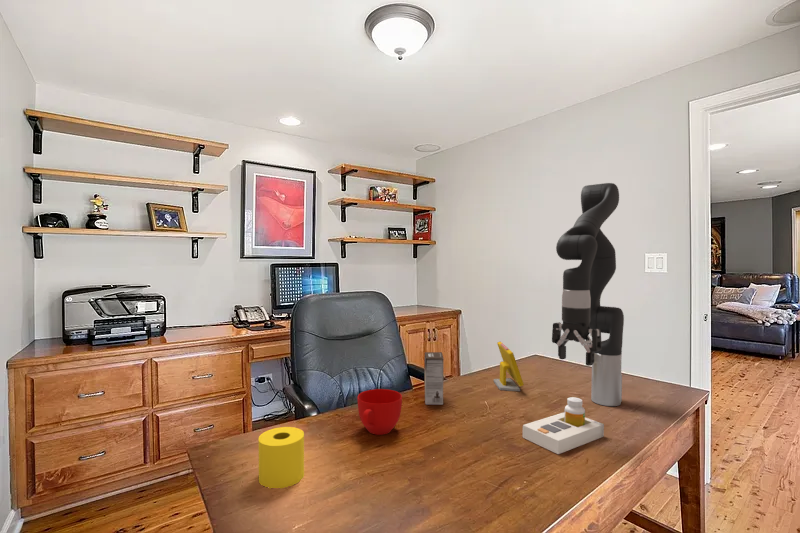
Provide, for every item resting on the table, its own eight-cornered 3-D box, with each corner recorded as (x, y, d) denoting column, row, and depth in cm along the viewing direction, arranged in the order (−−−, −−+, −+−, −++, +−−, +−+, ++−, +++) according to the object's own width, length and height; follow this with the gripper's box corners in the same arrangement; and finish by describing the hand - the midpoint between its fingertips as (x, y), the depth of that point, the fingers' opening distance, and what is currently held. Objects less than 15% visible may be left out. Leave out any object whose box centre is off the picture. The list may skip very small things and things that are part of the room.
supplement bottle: (586, 437, 116) (587, 403, 116) (566, 436, 117) (566, 401, 117) (582, 429, 121) (582, 397, 121) (562, 428, 122) (563, 395, 122)
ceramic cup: (342, 441, 113) (342, 405, 113) (368, 418, 129) (368, 386, 129) (387, 449, 109) (387, 411, 108) (408, 424, 124) (408, 391, 124)
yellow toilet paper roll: (260, 492, 89) (260, 449, 88) (256, 470, 98) (256, 431, 97) (307, 482, 93) (307, 441, 92) (299, 462, 102) (299, 424, 101)
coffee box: (424, 395, 150) (424, 351, 150) (441, 395, 150) (442, 351, 150) (425, 404, 141) (425, 357, 141) (443, 405, 141) (444, 358, 141)
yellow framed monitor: (523, 394, 152) (524, 351, 152) (502, 394, 152) (502, 351, 152) (510, 378, 172) (510, 340, 172) (491, 378, 172) (491, 340, 172)
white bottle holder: (567, 422, 127) (567, 409, 126) (603, 436, 117) (603, 422, 117) (522, 437, 116) (522, 423, 116) (558, 454, 106) (558, 439, 106)
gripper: (607, 307, 114) (606, 365, 114) (562, 302, 126) (562, 355, 127) (591, 309, 110) (590, 369, 110) (546, 303, 122) (546, 358, 123)
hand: (575, 361), depth 118 cm, fingers open, 8 cm apart
